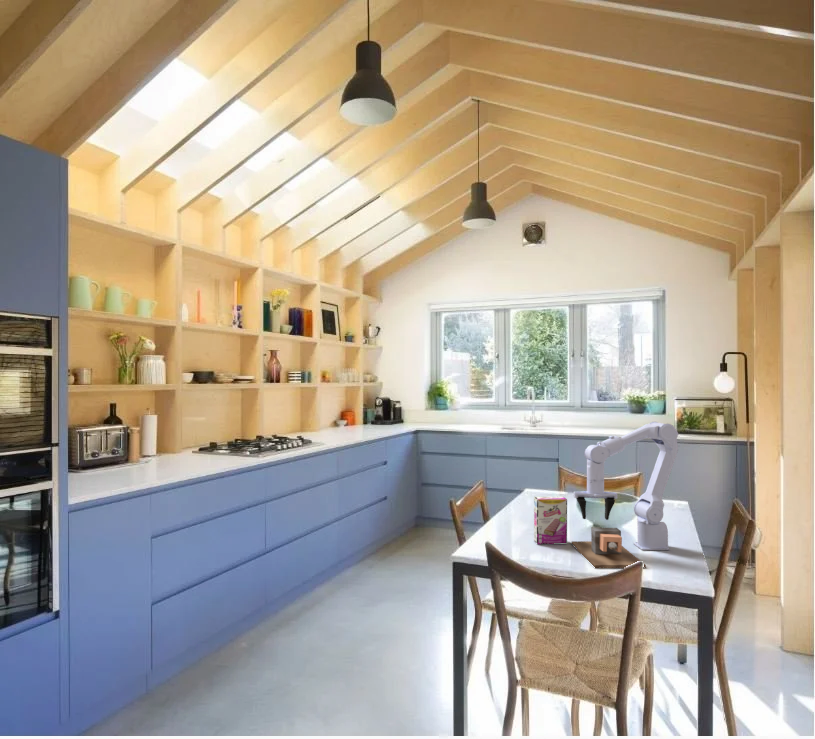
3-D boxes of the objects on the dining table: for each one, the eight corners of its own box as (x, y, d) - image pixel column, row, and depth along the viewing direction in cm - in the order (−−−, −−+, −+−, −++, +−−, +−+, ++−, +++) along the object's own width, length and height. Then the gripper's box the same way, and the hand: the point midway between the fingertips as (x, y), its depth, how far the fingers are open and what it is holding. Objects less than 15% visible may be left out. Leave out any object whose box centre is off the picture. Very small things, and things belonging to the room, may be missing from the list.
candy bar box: (537, 545, 206) (536, 499, 206) (533, 541, 211) (533, 496, 211) (568, 544, 206) (567, 498, 206) (563, 540, 211) (563, 495, 211)
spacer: (617, 549, 191) (618, 534, 191) (621, 552, 187) (621, 537, 187) (599, 548, 191) (599, 533, 191) (603, 551, 187) (603, 536, 187)
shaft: (601, 537, 203) (601, 527, 203) (619, 552, 186) (618, 540, 186) (591, 537, 203) (591, 527, 203) (607, 552, 186) (607, 541, 186)
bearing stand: (616, 544, 206) (615, 519, 206) (645, 568, 180) (645, 540, 180) (571, 544, 206) (571, 519, 206) (594, 568, 180) (594, 540, 180)
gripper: (576, 481, 197) (576, 521, 197) (620, 482, 196) (619, 522, 196) (572, 477, 204) (572, 516, 204) (614, 478, 203) (614, 517, 203)
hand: (595, 518), depth 200 cm, fingers open, 7 cm apart
